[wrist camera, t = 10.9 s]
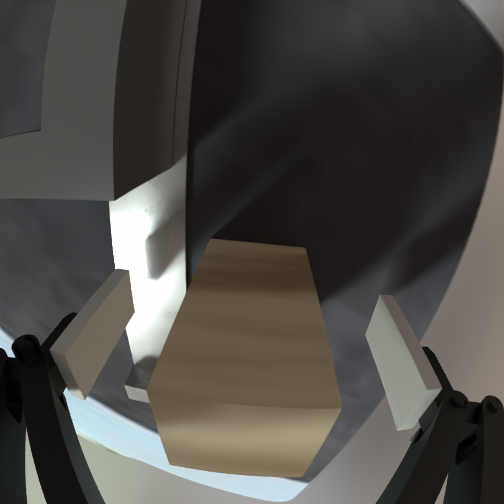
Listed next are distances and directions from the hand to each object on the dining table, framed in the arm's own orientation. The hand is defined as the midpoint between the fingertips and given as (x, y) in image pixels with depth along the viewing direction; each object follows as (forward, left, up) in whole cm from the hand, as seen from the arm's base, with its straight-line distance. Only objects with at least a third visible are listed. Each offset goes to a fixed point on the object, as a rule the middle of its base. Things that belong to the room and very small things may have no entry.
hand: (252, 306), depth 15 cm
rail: (-8, -6, -2) cm, 10 cm away
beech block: (0, 0, -2) cm, 2 cm away
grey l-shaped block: (-14, -9, -2) cm, 17 cm away
